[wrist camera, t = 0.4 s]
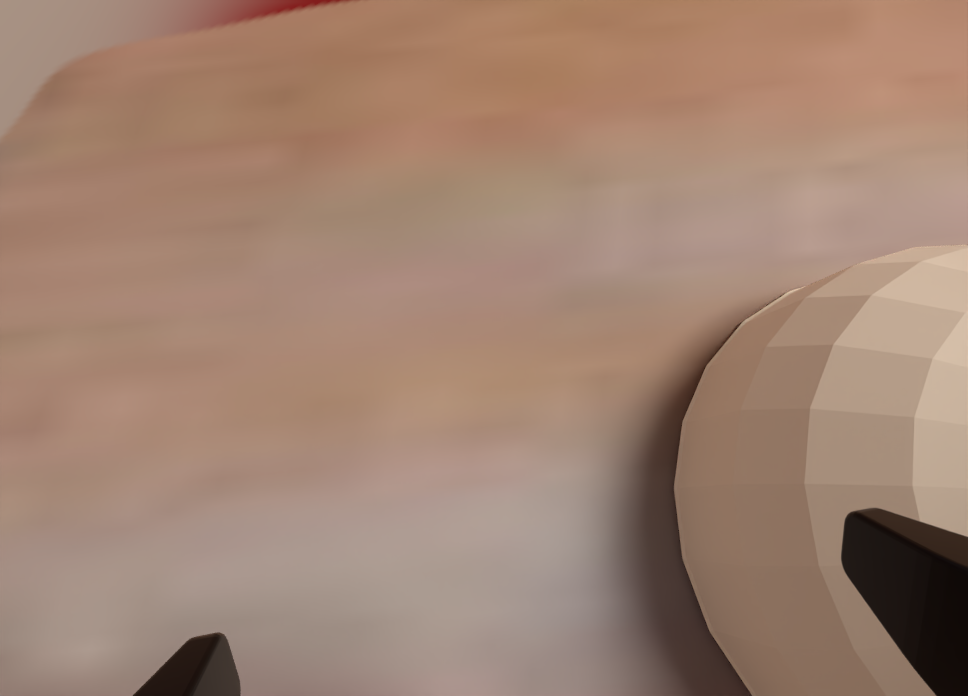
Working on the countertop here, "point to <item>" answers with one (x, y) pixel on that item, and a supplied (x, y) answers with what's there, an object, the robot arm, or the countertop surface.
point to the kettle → (824, 466)
